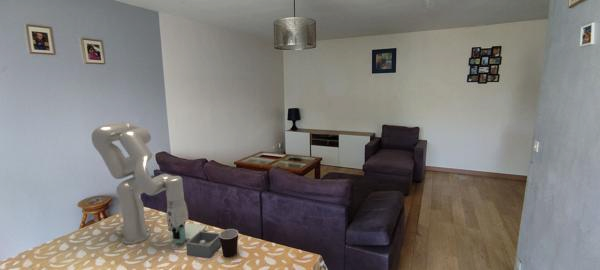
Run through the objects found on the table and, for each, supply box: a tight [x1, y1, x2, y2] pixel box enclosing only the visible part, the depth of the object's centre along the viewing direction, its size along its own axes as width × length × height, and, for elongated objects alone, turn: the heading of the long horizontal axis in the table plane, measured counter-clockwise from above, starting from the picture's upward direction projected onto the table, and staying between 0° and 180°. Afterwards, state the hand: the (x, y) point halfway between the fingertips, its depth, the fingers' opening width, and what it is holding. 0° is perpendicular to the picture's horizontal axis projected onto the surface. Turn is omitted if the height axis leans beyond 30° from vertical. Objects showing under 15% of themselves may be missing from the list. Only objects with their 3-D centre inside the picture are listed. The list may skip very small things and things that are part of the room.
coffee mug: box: [219, 228, 239, 259], centre depth 130 cm, size 12×9×10 cm
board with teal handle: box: [170, 223, 208, 244], centre depth 143 cm, size 16×12×7 cm
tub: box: [185, 230, 222, 259], centre depth 132 cm, size 12×11×6 cm
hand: (179, 236), depth 137 cm, fingers closed on board with teal handle, 3 cm apart
